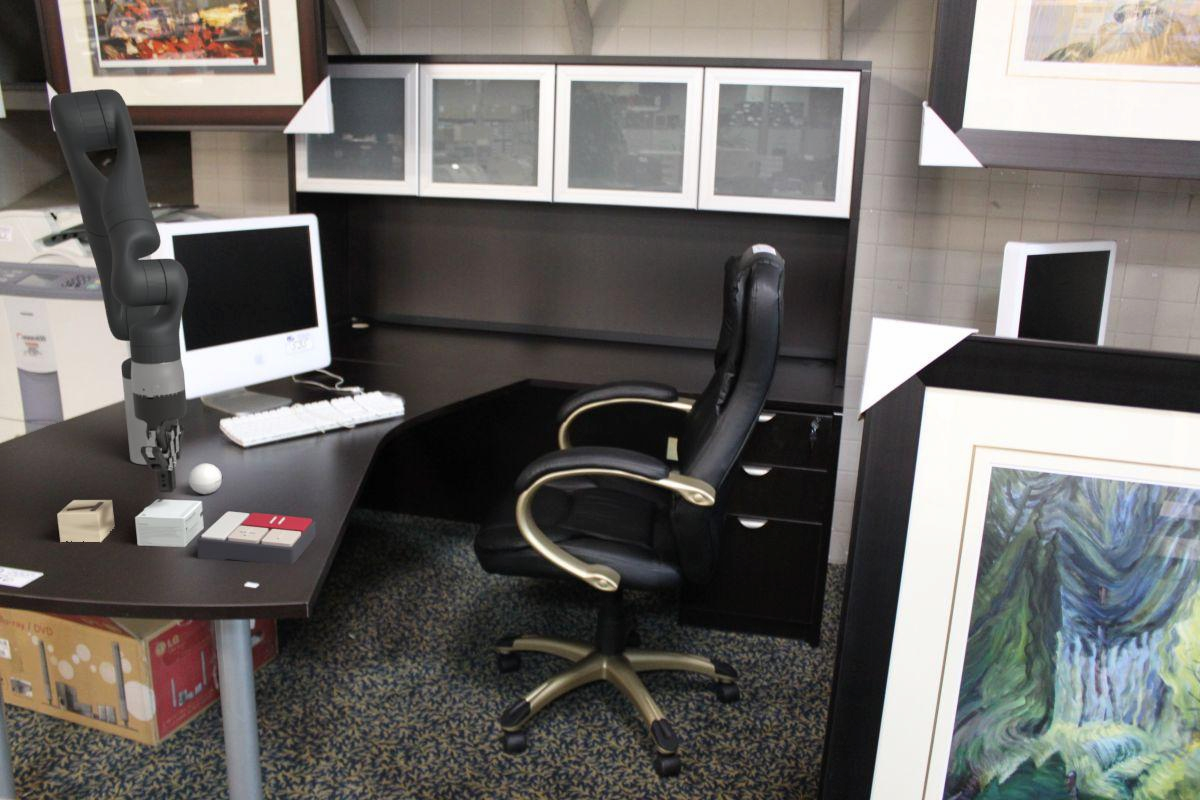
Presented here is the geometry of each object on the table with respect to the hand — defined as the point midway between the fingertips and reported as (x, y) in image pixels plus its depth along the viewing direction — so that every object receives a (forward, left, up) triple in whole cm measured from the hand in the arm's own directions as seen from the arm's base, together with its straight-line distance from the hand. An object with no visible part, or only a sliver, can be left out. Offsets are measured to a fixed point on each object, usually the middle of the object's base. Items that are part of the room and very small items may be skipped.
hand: (167, 490), depth 152 cm
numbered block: (0, -13, -8) cm, 15 cm away
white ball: (-20, 0, -8) cm, 22 cm away
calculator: (+4, +15, -8) cm, 18 cm away
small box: (0, 0, -8) cm, 8 cm away
